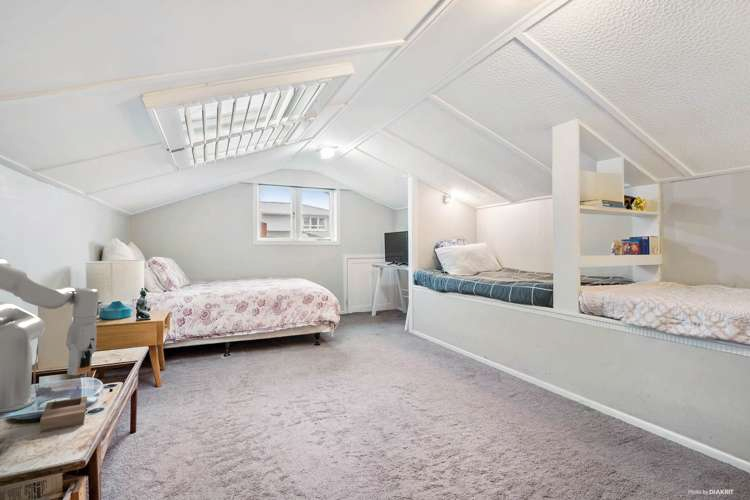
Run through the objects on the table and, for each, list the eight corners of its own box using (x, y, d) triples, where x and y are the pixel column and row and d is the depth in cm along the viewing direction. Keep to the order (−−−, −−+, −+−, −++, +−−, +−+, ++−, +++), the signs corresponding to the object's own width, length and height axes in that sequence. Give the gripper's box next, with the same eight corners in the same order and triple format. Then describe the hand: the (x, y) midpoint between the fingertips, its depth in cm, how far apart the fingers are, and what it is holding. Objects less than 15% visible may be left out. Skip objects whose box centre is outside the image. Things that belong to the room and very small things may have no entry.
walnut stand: (46, 415, 125) (47, 402, 125) (86, 408, 132) (86, 396, 132) (39, 433, 114) (40, 419, 114) (83, 424, 121) (84, 411, 121)
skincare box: (75, 375, 135) (78, 344, 135) (66, 374, 135) (69, 343, 136) (91, 370, 141) (94, 341, 141) (82, 369, 141) (85, 339, 141)
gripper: (57, 318, 137) (53, 365, 136) (90, 324, 132) (85, 372, 132) (78, 315, 144) (74, 359, 144) (110, 321, 140) (105, 366, 139)
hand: (79, 365), depth 138 cm, fingers closed on skincare box, 4 cm apart
